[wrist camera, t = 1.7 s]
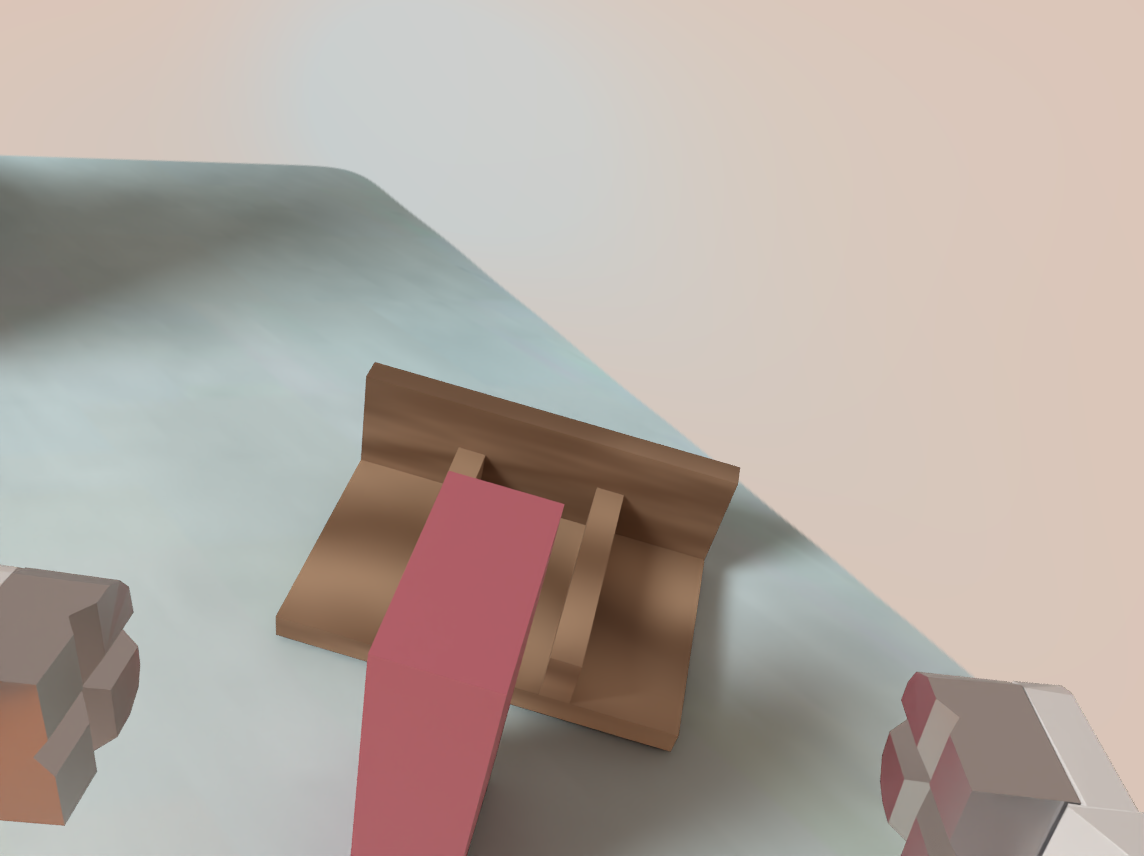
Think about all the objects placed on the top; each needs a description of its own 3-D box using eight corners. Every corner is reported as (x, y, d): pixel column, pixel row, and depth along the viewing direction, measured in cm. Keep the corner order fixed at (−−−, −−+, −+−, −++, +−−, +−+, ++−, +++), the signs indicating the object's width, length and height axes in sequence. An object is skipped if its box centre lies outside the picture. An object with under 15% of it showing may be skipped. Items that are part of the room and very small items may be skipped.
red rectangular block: (440, 942, 32) (506, 695, 22) (345, 914, 32) (367, 654, 22) (490, 775, 37) (564, 504, 26) (407, 750, 37) (448, 470, 26)
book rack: (670, 751, 39) (715, 662, 34) (276, 634, 39) (273, 532, 35) (699, 559, 46) (740, 467, 42) (367, 463, 46) (374, 362, 42)
